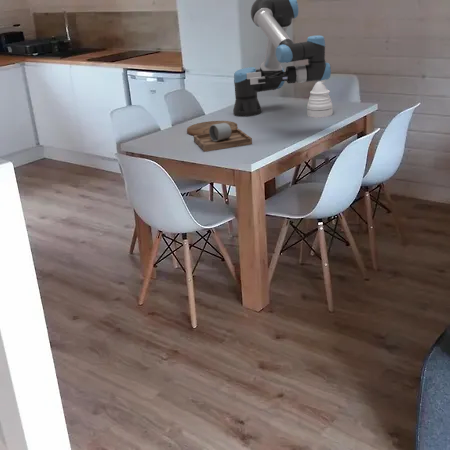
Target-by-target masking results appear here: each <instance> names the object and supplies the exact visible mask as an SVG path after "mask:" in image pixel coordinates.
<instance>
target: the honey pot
mask: <svg viewBox="0 0 450 450" xmlns="http://www.w3.org/2000/svg"><path fill="white" fill-rule="evenodd" d="M325 82H326V80H321V81H316V82H315V84H314V85H313V87H312V90H311V91H309V94H310V95H309V97H308V102H307V105H306V106H307V107H306V109H307V110H306V111H307V112H306V113H307V114H306V115H308V117H309V116H310V117H309V118H327V117H330V116H332V115H333V114H334V113H333V111H334V110H333V101H332V99H331V96H330V95H329V93H330V92H331V90H329V89H328V88H327V87H326V85H325V84H324V83H325Z"/></svg>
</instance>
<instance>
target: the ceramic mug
mask: <svg viewBox="0 0 450 450" xmlns="http://www.w3.org/2000/svg"><path fill="white" fill-rule="evenodd" d="M209 134H210V138H211V139H212V140H213V141H215V142H217V141H220V140H224V139H227V138H229V137H230V136H231V134H232V129H231V127H230V125H229V124H227V123H221V124H214V125H211V126H210V129H209Z"/></svg>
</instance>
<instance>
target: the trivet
mask: <svg viewBox="0 0 450 450" xmlns="http://www.w3.org/2000/svg"><path fill="white" fill-rule="evenodd" d="M221 123H227V124H229V125H230V127H231V129H232V130H234V129H239V128H238V124H237V123H236V122H235V121H230V120H210V121H209V120H208V121H203V122H198V123H197V122H196V123H195V124H192V125H191V124H190V126H188V127H187V128H186V133H187V134H188V135H190V136H193V137H194V135H200V134H207V133H209V129H210V126H211V125H214V124H221Z"/></svg>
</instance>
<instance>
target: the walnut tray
mask: <svg viewBox="0 0 450 450" xmlns="http://www.w3.org/2000/svg"><path fill="white" fill-rule="evenodd" d="M193 142H194V143H195V144H196V145H197V146H198V147H199V148H200V149H201V150H202V151H203V152H204V153H205V152H210V151H217V150H218V151H219V150H224V149H229V148H236V147H238V148H239V147H243V146H249V145H253V138H252V137H251V136H249V135H248V134H247V133H245V132H244V131H242V130H241V129H240V128H237V129H234V130H232V134H231V136H230V137H229V138H227V139H224V140H220V141H217V142H215V141H213V140H212V139H211V138H210V134H209V133H207V134H200V135H194V136H193Z"/></svg>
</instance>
